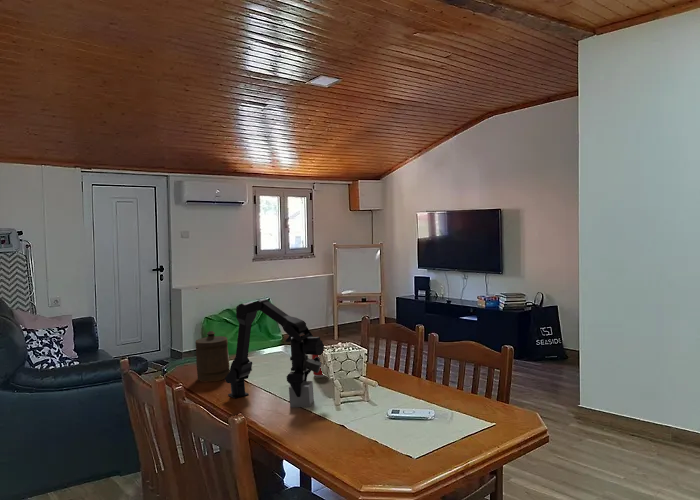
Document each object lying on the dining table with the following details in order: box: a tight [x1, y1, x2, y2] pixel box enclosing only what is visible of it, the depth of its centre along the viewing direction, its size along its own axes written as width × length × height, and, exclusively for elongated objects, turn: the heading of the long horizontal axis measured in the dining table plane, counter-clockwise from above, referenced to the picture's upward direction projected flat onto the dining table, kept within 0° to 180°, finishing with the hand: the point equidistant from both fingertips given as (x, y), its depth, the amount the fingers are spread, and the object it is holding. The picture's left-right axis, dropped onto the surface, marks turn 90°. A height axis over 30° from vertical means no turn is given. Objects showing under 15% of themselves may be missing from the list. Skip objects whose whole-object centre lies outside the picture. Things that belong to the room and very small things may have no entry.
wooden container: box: [195, 330, 231, 382], centre depth 276 cm, size 15×15×22 cm
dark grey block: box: [288, 380, 315, 408], centre depth 228 cm, size 8×8×8 cm
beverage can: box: [311, 355, 325, 378], centre depth 268 cm, size 6×6×12 cm
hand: (301, 393), depth 228 cm, fingers open, 9 cm apart
